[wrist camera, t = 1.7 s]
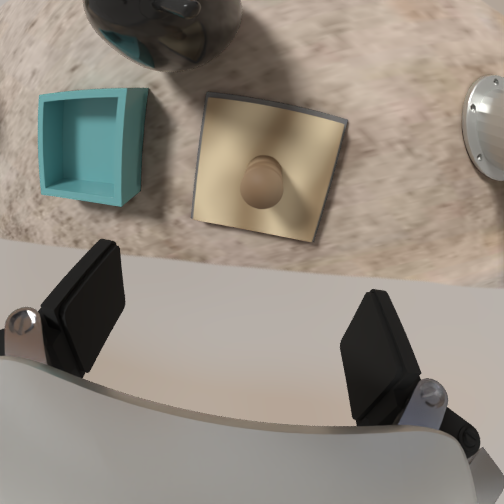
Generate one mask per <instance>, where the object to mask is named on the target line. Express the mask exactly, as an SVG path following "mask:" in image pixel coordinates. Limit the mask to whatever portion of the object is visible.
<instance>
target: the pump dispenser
mask: <svg viewBox="0 0 504 504" xmlns="http://www.w3.org/2000/svg"><path fill="white" fill-rule="evenodd" d="M83 6H84V11H85V14H86V16H87V19H88V21H89V23H90V24H91V26H92V27H93V29H94V30H95V31H96V33H97V34H98V35H99V36H100V37H101V38H102V39H103V40H104V41H105V42H106V43H107V44H108V45H109V46H111V47H112V48H113V49H114V50H115V51H117V52H118V53H119V54H121V55H122V56H124V57H125V58H127V59H129V60H130V61H132V62H134V63H136V64H138V65H140V66H142V67H145V68H147V69H151V70H155V71H160V72H181V71H187V70H190V69H194V68H197V67H199V66H201V65H203V64H205V63H207V62H209V61H211V60H212V59H214V58H215V57H217V56H218V55H219V54H220V53H221V52H223V51H224V50H225V49H226V48H227V46H228V45H229V44H230V43H231V42H232V40H233V39H234V37H235V35H236V33H237V31H238V29H239V27H240V23H241V19H242V4H241V0H83Z"/></svg>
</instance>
